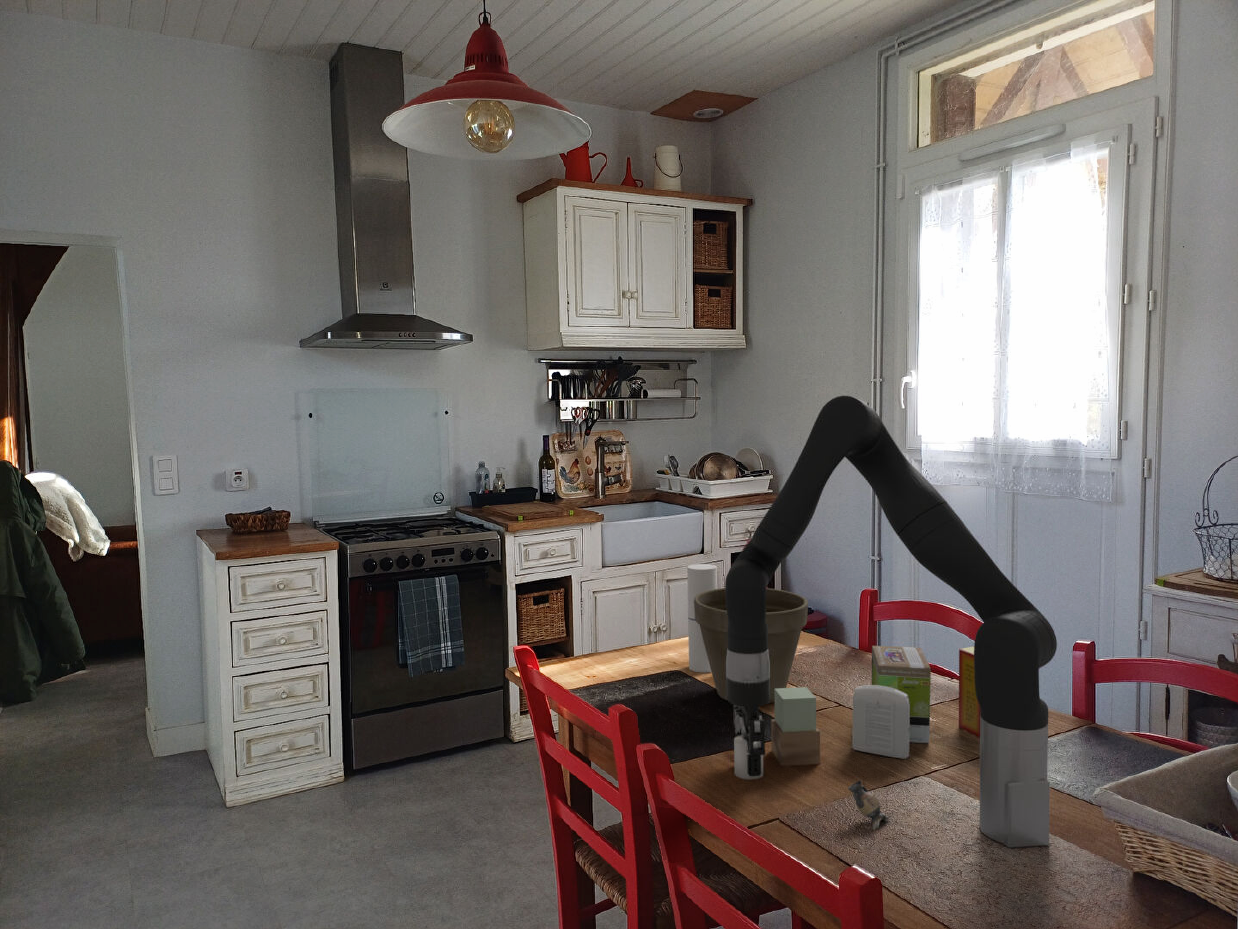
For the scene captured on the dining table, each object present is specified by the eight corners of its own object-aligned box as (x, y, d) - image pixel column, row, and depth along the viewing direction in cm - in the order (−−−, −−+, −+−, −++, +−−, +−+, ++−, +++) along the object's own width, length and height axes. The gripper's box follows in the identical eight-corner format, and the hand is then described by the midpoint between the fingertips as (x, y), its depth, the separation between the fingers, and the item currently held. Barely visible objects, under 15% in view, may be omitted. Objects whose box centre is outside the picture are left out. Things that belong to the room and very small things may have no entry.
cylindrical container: (684, 665, 221) (682, 565, 220) (711, 662, 223) (709, 563, 222) (695, 673, 215) (694, 570, 213) (723, 670, 217) (721, 568, 215)
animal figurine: (840, 822, 139) (841, 783, 139) (857, 812, 143) (858, 775, 143) (873, 832, 135) (873, 792, 135) (889, 822, 139) (890, 783, 139)
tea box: (931, 744, 168) (931, 667, 167) (876, 741, 170) (876, 665, 169) (921, 716, 183) (921, 645, 182) (870, 714, 185) (870, 643, 184)
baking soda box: (998, 721, 180) (999, 642, 178) (1022, 732, 173) (1023, 651, 172) (958, 727, 177) (959, 647, 176) (981, 738, 171) (981, 656, 170)
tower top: (816, 730, 161) (816, 697, 160) (783, 732, 160) (783, 699, 160) (806, 718, 167) (806, 687, 166) (774, 720, 166) (774, 688, 166)
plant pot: (831, 704, 192) (831, 603, 190) (729, 721, 183) (728, 616, 181) (770, 672, 215) (769, 582, 213) (676, 686, 206) (675, 592, 204)
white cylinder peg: (766, 778, 155) (766, 744, 154) (737, 780, 154) (737, 746, 154) (759, 767, 160) (759, 734, 159) (731, 768, 159) (731, 735, 159)
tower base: (820, 764, 161) (819, 731, 160) (781, 766, 160) (781, 733, 160) (808, 749, 168) (808, 717, 167) (771, 751, 167) (771, 719, 167)
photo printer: (911, 753, 165) (912, 687, 164) (906, 761, 161) (907, 694, 160) (855, 743, 170) (855, 679, 169) (849, 751, 166) (849, 686, 165)
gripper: (779, 686, 149) (780, 781, 150) (759, 661, 163) (760, 748, 165) (735, 688, 149) (736, 784, 150) (718, 663, 163) (719, 750, 164)
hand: (748, 765), depth 157 cm, fingers open, 8 cm apart
